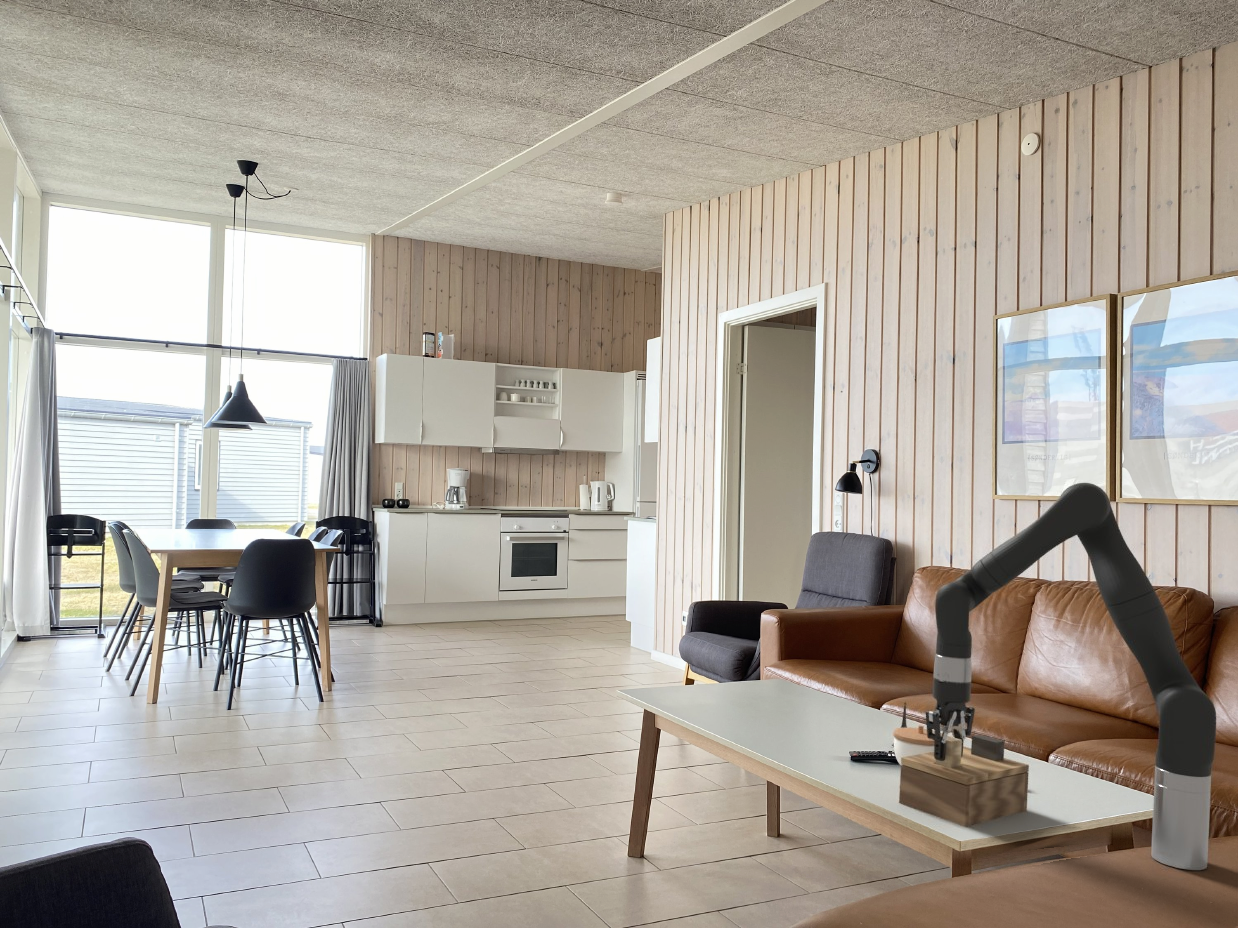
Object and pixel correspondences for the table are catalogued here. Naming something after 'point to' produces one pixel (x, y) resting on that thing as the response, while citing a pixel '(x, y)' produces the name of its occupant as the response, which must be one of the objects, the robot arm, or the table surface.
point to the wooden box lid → (971, 762)
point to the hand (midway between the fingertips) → (948, 757)
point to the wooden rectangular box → (963, 796)
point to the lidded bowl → (912, 742)
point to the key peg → (952, 753)
